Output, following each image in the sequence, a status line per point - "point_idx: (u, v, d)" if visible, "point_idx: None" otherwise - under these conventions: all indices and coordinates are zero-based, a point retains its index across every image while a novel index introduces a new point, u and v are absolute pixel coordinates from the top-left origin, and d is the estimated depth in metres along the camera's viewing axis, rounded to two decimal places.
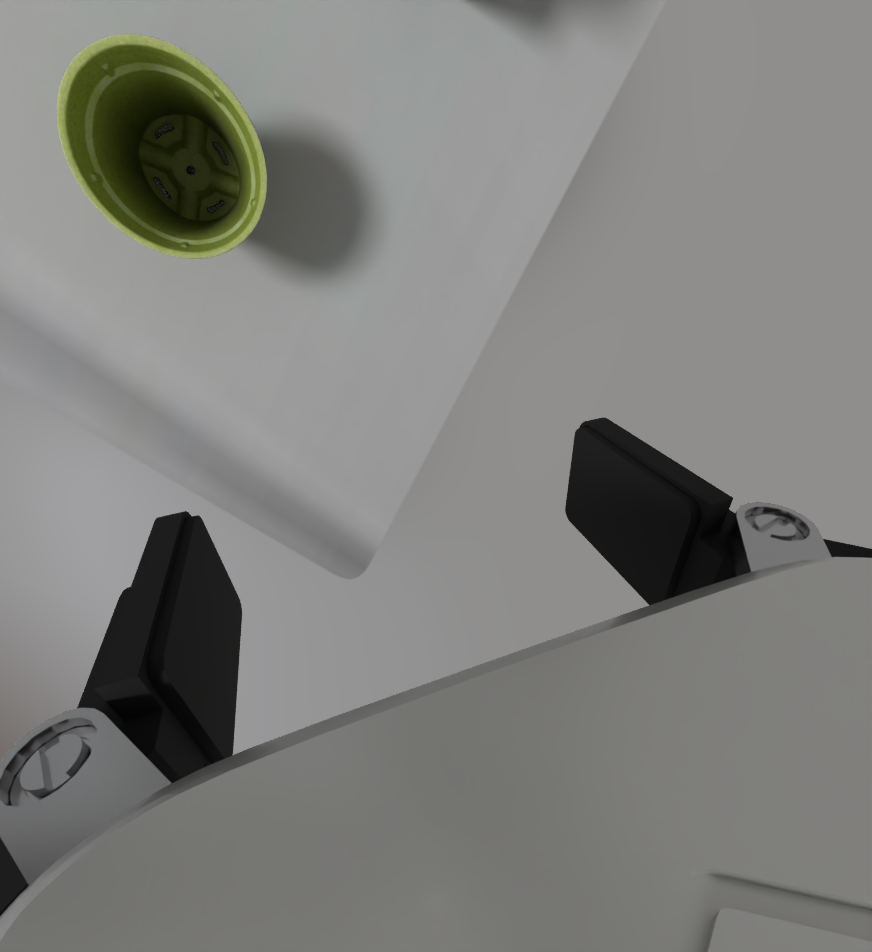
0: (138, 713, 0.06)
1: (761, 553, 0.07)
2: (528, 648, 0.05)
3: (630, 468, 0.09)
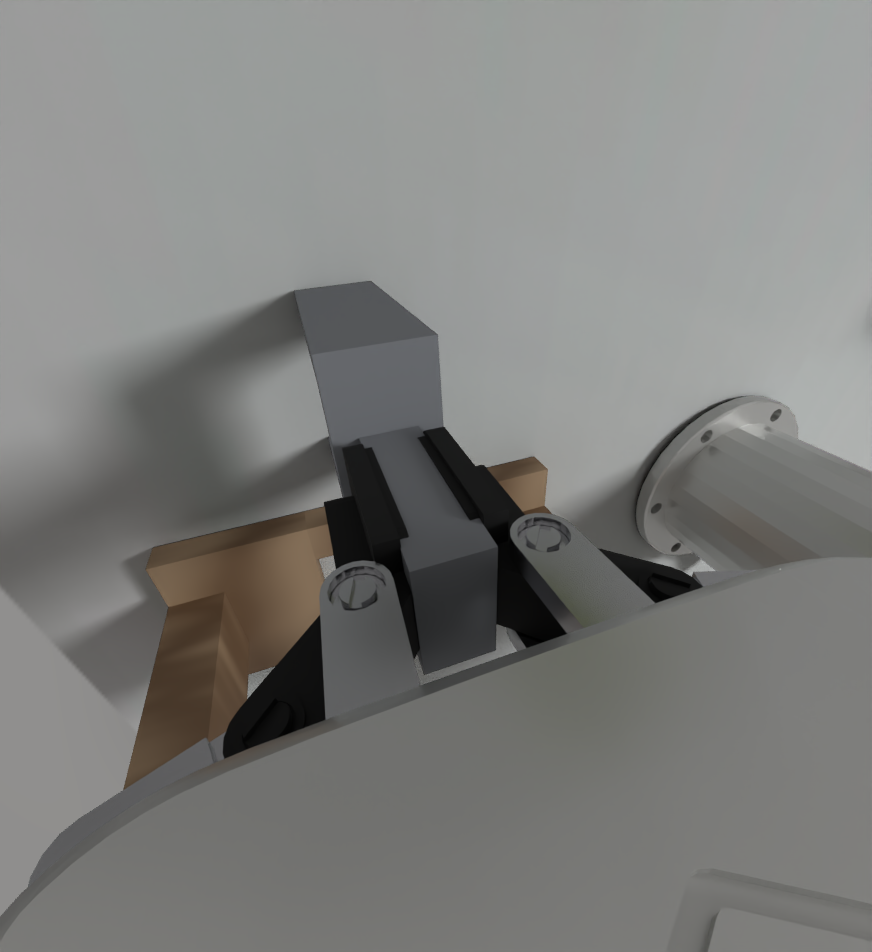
0: (389, 571, 0.08)
1: (556, 575, 0.07)
2: (528, 648, 0.05)
3: None
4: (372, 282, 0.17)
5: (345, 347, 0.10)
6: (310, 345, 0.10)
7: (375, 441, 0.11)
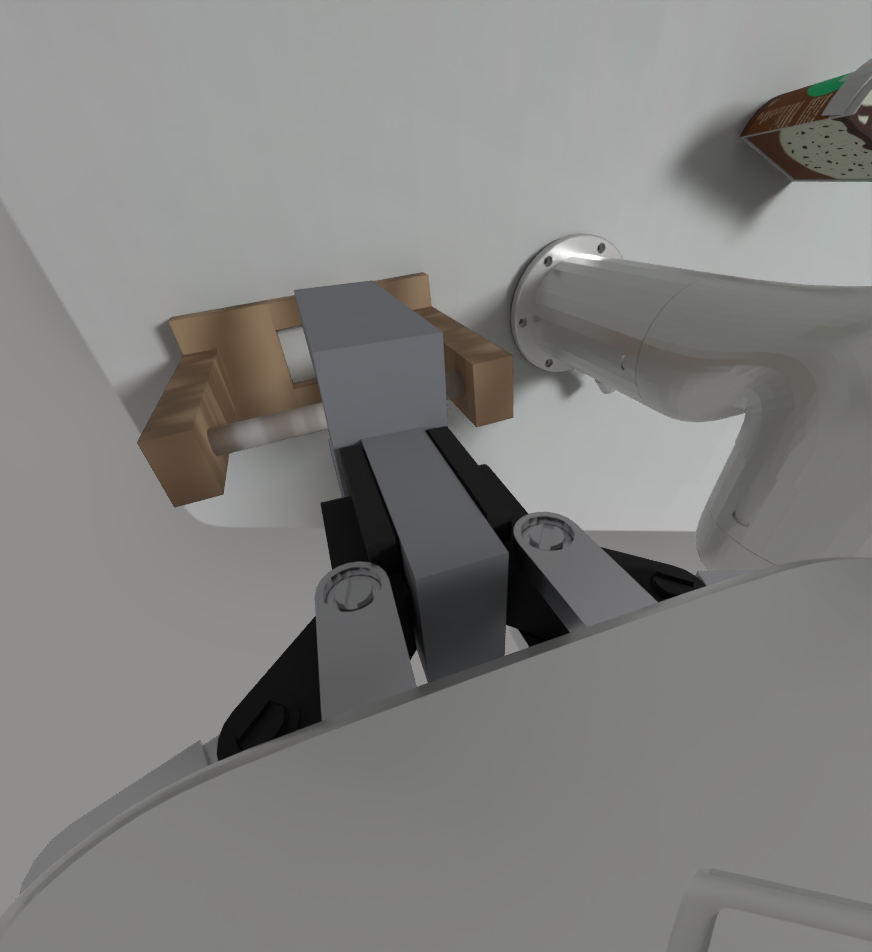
0: (386, 572, 0.08)
1: (559, 573, 0.07)
2: (528, 648, 0.05)
3: None
4: (374, 282, 0.16)
5: (348, 345, 0.10)
6: (310, 343, 0.10)
7: (377, 442, 0.10)
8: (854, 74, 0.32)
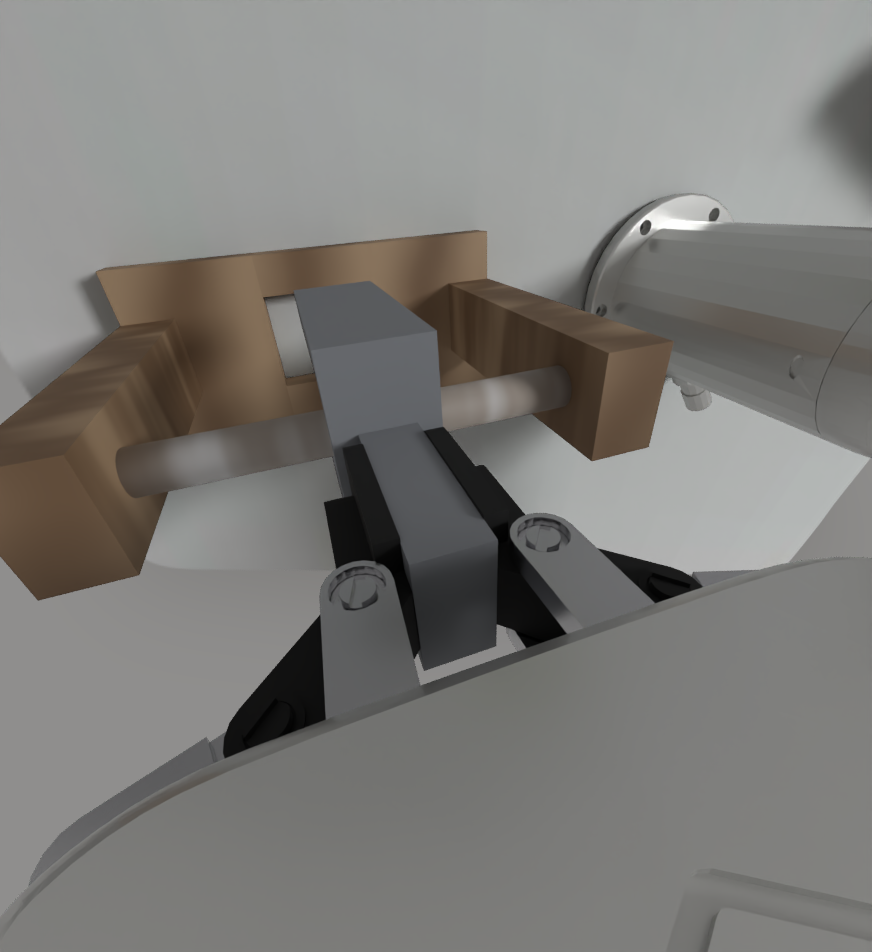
0: (390, 571, 0.08)
1: (556, 575, 0.07)
2: (528, 648, 0.05)
3: None
4: (371, 282, 0.17)
5: (345, 343, 0.10)
6: (309, 341, 0.10)
7: (374, 437, 0.11)
8: None
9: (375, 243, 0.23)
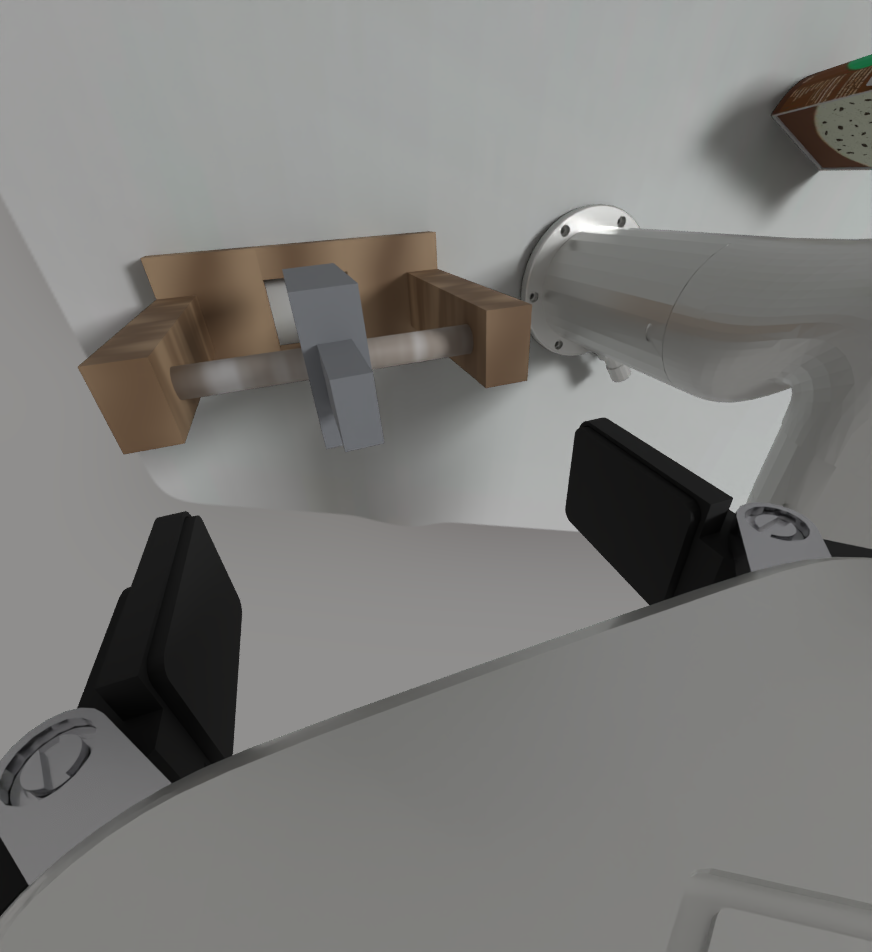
0: (138, 713, 0.06)
1: (761, 553, 0.07)
2: (528, 648, 0.05)
3: (630, 468, 0.09)
4: None
5: (306, 289, 0.18)
6: (287, 289, 0.19)
7: (325, 345, 0.19)
8: None
9: (348, 240, 0.31)
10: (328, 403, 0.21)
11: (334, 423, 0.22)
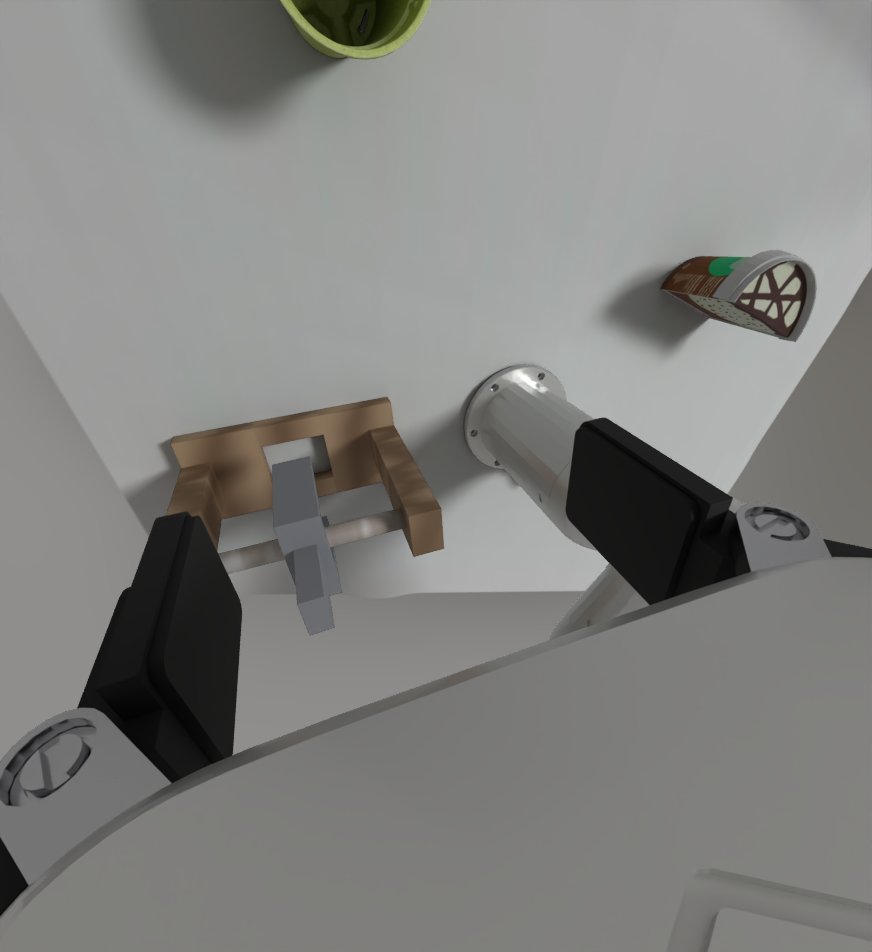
0: (138, 713, 0.06)
1: (761, 553, 0.07)
2: (528, 648, 0.05)
3: (630, 468, 0.09)
4: (309, 458, 0.35)
5: (285, 523, 0.29)
6: (273, 521, 0.29)
7: (298, 552, 0.29)
8: (737, 269, 0.39)
9: (323, 415, 0.41)
10: None
11: None
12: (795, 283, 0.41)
